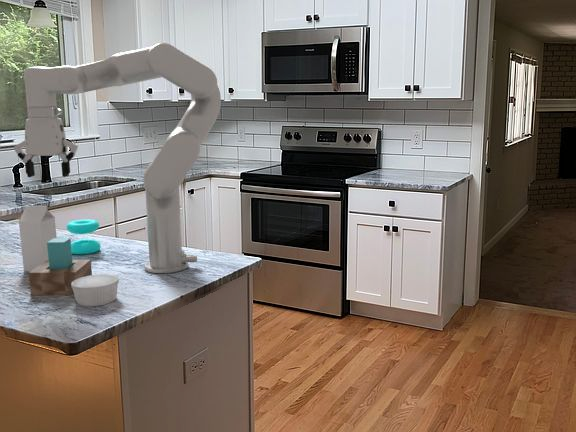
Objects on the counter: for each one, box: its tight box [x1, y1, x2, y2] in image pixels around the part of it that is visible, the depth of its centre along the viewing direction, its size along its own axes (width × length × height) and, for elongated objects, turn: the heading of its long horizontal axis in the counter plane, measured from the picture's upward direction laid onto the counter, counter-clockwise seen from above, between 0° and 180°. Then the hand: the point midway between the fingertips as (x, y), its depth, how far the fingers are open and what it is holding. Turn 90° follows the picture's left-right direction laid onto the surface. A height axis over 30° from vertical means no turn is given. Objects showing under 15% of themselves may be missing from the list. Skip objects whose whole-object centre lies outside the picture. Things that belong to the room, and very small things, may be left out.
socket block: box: [28, 259, 93, 296], centre depth 164 cm, size 12×12×6 cm
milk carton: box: [18, 204, 58, 273], centre depth 180 cm, size 7×7×19 cm
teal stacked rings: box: [66, 218, 101, 255], centre depth 201 cm, size 10×10×10 cm
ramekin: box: [71, 273, 120, 307], centre depth 154 cm, size 11×11×5 cm
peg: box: [47, 237, 73, 269], centre depth 163 cm, size 4×4×12 cm
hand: (48, 176), depth 171 cm, fingers open, 9 cm apart
